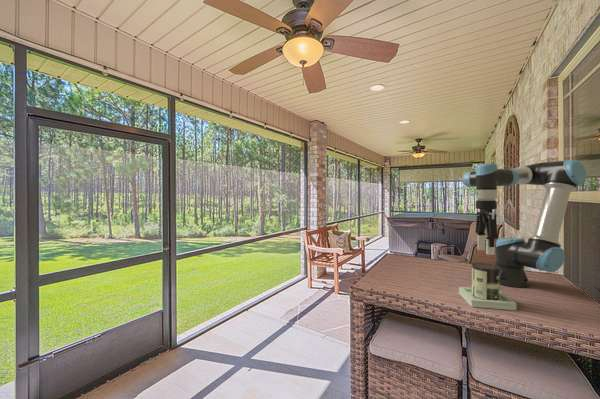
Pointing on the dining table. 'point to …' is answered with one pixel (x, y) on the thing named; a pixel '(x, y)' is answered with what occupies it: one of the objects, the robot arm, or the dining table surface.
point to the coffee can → (485, 281)
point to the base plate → (502, 304)
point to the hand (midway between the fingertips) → (485, 252)
